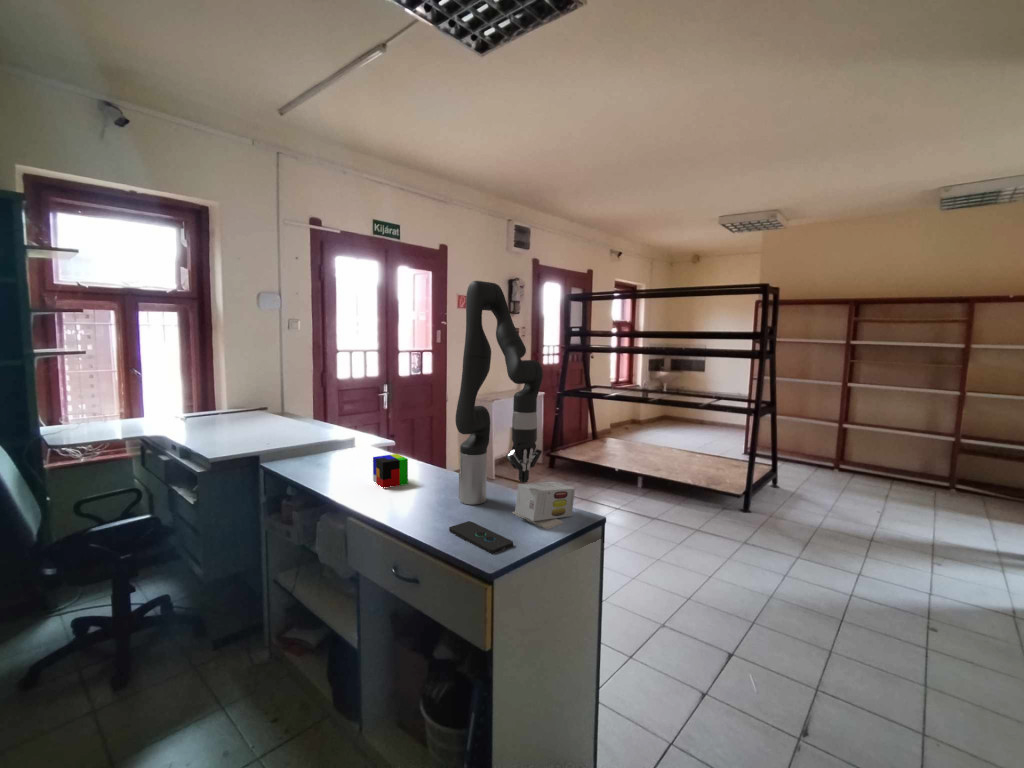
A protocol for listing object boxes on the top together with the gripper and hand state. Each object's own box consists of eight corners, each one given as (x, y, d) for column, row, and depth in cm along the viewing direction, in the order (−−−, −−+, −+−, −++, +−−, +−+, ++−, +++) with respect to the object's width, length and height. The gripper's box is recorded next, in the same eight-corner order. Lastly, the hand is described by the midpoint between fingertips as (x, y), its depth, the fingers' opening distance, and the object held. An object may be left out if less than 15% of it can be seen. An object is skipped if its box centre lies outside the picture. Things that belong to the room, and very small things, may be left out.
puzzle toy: (373, 482, 184) (372, 457, 183) (397, 477, 190) (397, 453, 189) (382, 488, 176) (382, 462, 175) (407, 484, 182) (407, 458, 181)
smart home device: (491, 550, 123) (447, 527, 138) (491, 556, 124) (447, 532, 138) (514, 541, 129) (470, 520, 144) (514, 547, 129) (470, 525, 144)
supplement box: (537, 490, 141) (576, 487, 151) (517, 483, 148) (556, 480, 158) (533, 522, 141) (572, 516, 152) (514, 513, 148) (553, 508, 159)
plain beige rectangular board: (512, 513, 153) (512, 511, 153) (528, 509, 157) (528, 507, 157) (546, 529, 141) (546, 527, 141) (563, 523, 145) (563, 521, 145)
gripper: (532, 422, 149) (531, 475, 151) (499, 426, 141) (499, 482, 143) (549, 425, 144) (547, 481, 145) (515, 430, 135) (514, 489, 137)
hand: (523, 481), depth 144 cm, fingers closed
